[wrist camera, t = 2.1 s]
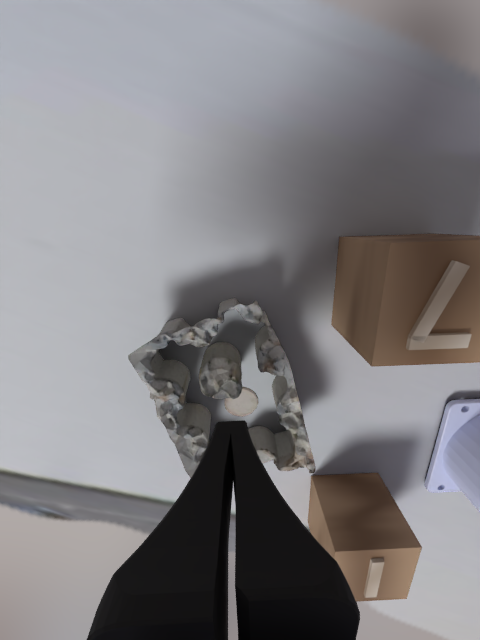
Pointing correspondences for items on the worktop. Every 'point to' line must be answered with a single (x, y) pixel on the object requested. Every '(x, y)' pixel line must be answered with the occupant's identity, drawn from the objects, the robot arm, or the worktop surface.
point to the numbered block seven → (409, 298)
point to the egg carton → (223, 389)
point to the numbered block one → (364, 534)
